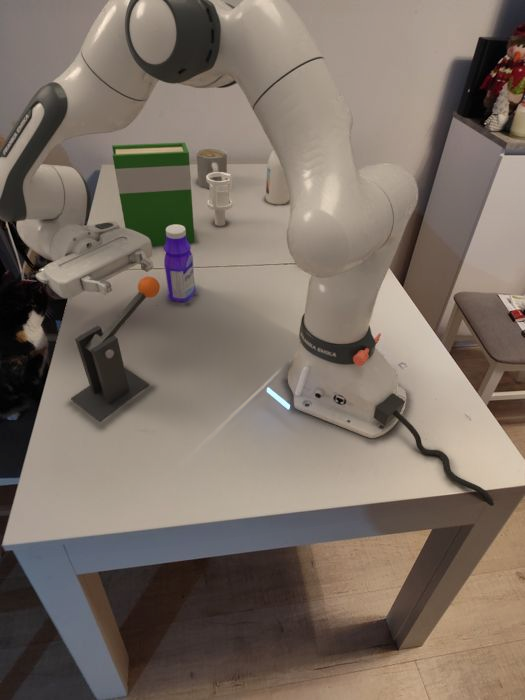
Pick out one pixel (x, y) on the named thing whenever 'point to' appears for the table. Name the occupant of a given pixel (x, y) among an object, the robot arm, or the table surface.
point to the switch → (128, 310)
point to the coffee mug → (210, 164)
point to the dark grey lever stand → (105, 377)
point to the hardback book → (155, 188)
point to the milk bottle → (276, 182)
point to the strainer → (219, 195)
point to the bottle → (178, 264)
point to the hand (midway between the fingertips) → (130, 277)
